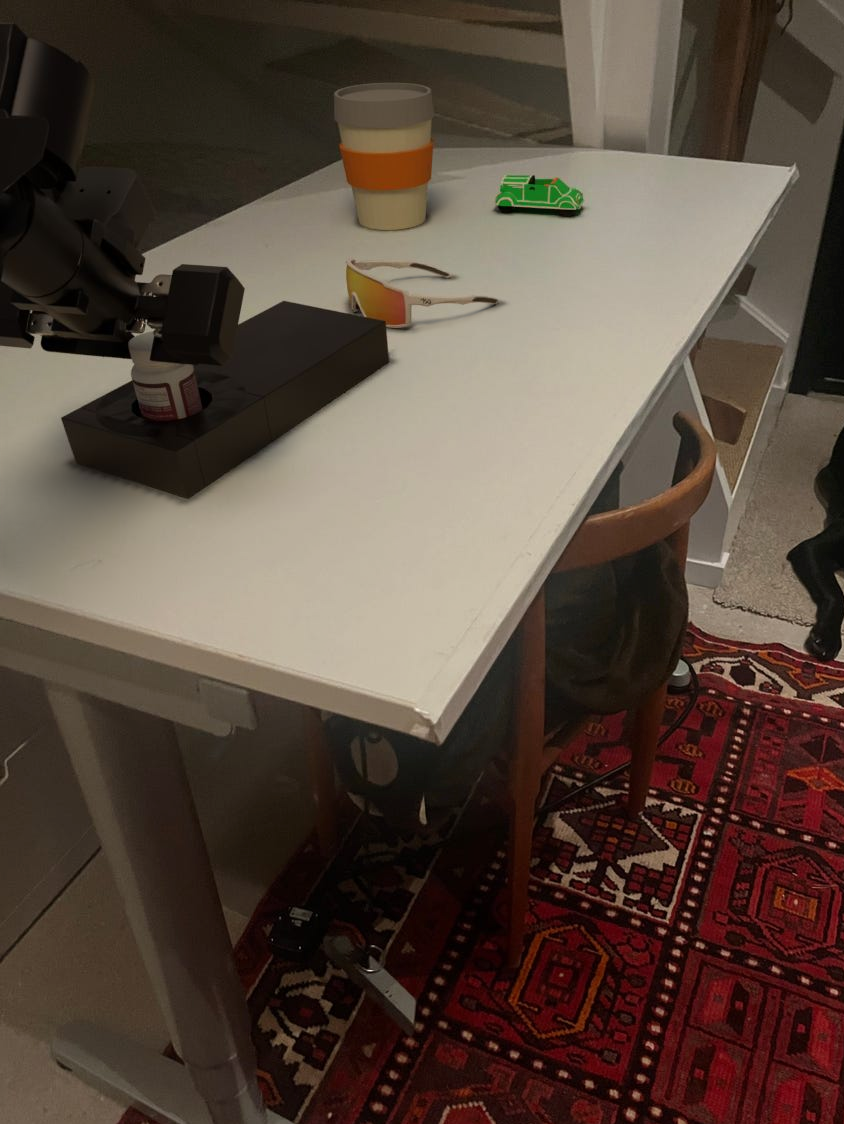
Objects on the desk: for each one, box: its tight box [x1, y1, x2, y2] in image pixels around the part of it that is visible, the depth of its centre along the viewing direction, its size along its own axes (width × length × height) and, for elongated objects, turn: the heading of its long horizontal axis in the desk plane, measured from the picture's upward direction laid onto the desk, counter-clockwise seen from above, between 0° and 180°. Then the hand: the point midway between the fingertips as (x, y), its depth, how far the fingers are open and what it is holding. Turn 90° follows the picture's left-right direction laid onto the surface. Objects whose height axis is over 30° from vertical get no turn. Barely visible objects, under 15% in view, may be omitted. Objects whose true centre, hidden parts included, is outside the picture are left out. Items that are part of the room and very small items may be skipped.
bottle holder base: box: [60, 300, 390, 499], centre depth 80 cm, size 28×12×4 cm, turn 151°
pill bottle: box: [128, 330, 203, 421], centre depth 73 cm, size 5×5×8 cm
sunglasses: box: [345, 258, 500, 329], centre depth 99 cm, size 14×15×5 cm
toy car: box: [491, 174, 585, 218], centre depth 125 cm, size 12×5×4 cm, turn 75°
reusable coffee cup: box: [333, 82, 435, 231], centre depth 119 cm, size 13×13×15 cm
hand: (169, 356), depth 73 cm, fingers closed on pill bottle, 4 cm apart
